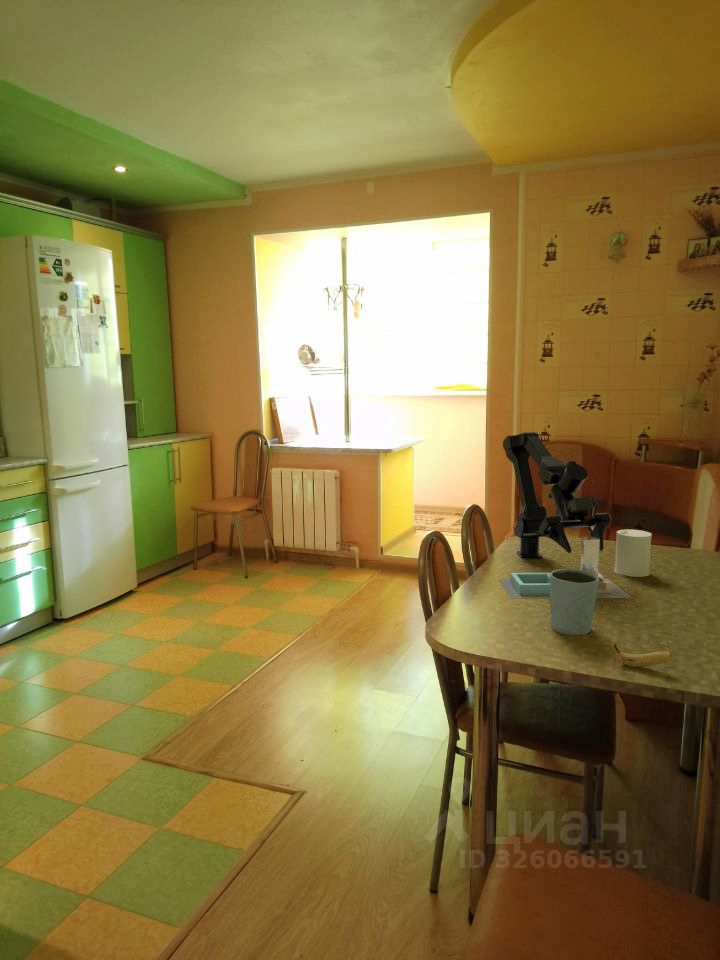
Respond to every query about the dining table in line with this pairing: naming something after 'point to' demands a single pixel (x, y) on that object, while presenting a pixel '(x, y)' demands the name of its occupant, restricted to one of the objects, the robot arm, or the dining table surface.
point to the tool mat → (513, 593)
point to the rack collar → (531, 583)
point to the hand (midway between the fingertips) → (586, 551)
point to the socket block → (603, 585)
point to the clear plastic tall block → (590, 555)
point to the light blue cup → (572, 601)
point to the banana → (642, 658)
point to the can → (633, 553)
